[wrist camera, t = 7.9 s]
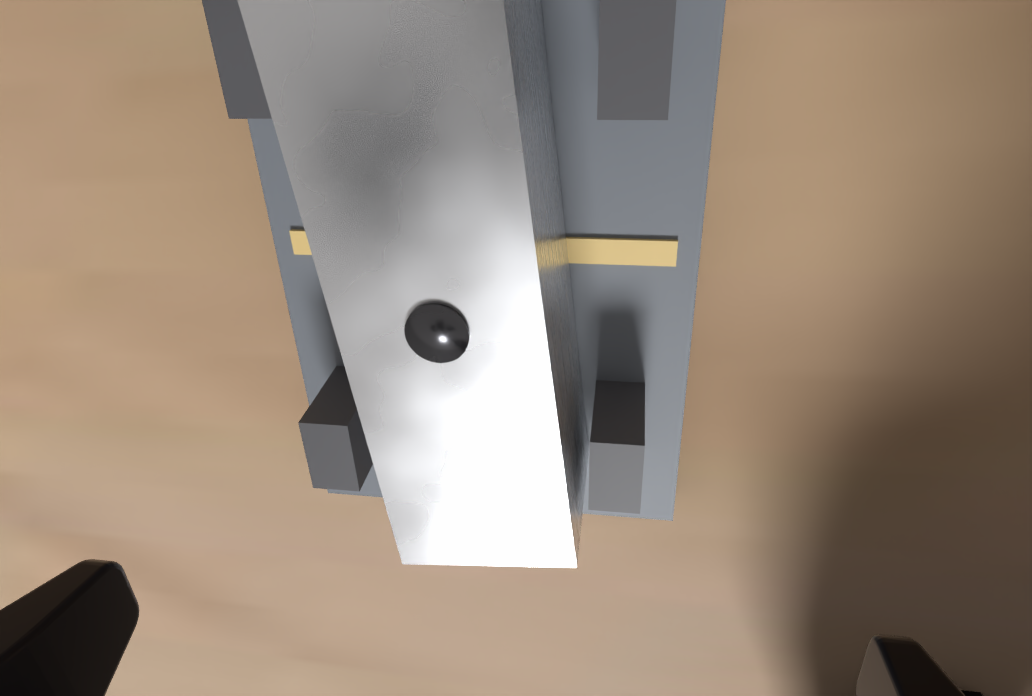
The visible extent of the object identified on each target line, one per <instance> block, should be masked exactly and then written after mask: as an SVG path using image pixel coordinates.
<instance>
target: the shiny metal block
mask: <svg viewBox="0 0 1032 696" xmlns="http://www.w3.org/2000/svg"><path fill="white" fill-rule="evenodd" d="M238 4H239V7H240V11H241V14H242V18H243V21H244V24H245V28H246V31H247V35H248V38H249V42H250V45H251V48H252V52H253V55H254V59H255V62H256V65H257V69H258V72H259V76H260V79H261V83H262V86H263V89H264V93H265V96H266V100H267V103H268V106H269V110H270V113H271V117H272V120H273V124H274V127H275V130H276V134H277V137H278V141H279V144H280V147H281V151H282V154H283V158H284V161H285V165H286V168H287V171H288V175H289V178H290V182H291V185H292V188H293V192H294V195H295V199H296V202H297V206H298V209H299V212H300V216H301V219H302V223H303V226H304V229H305V233H306V236H307V240H308V243H309V247H310V250H311V253H312V257H313V260H314V264H315V267H316V270H317V274H318V277H319V281H320V284H321V288H322V291H323V294H324V298H325V301H326V305H327V308H328V311H329V315H330V318H331V322H332V325H333V329H334V332H335V335H336V339H337V342H338V346H339V349H340V352H341V356H342V359H343V363H344V366H345V370H346V373H347V376H348V380H349V383H350V387H351V390H352V393H353V397H354V400H355V404H356V407H357V411H358V414H359V417H360V421H361V424H362V428H363V431H364V434H365V438H366V441H367V445H368V448H369V452H370V455H371V458H372V462H373V465H374V469H375V472H376V475H377V479H378V482H379V486H380V489H381V493H382V496H383V499H384V503H385V506H386V510H387V513H388V516H389V520H390V523H391V527H392V530H393V534H394V537H395V540H396V544H397V547H398V551H399V554H400V557H401V561H402V564H417V565H466V566H516V567H565V568H577V561H578V551H579V542H580V532H581V523H582V513H583V504H584V494H585V485H586V475H587V466H588V456H589V448H588V439H587V429H586V420H585V411H584V401H583V392H582V382H581V373H580V364H579V354H578V345H577V336H576V326H575V317H574V307H573V298H572V289H571V279H570V270H569V260H568V251H567V242H566V232H565V223H564V214H563V204H562V195H561V185H560V176H559V167H558V157H557V148H556V138H555V129H554V120H553V110H552V101H551V92H550V82H549V73H548V63H547V54H546V45H545V35H544V26H543V16H542V7H541V0H238Z"/></svg>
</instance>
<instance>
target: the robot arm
mask: <svg viewBox="0 0 1032 696" xmlns="http://www.w3.org/2000/svg"><path fill="white" fill-rule="evenodd" d="M138 617H139V605H138V602H137V599H136V597H135V595H134V593H133V590H132V588H131V586H130V583H129V581H128V579H127V577H126V574H125V572H124V570H123V568H122V566H121V565H120V564H118V563H117V562H114V561H105V560H95V559H89V560H84V561H82V562H80V563H78V564H76V565H74V566H73V567H71V568H69V569H68V570H66V571H64V572H63V573H61V574H59V575H58V576H56V577H54V578H53V579H51V580H49V581H48V582H46V583H44V584H43V585H41V586H39V587H38V588H36V589H34V590H33V591H31V592H29V593H28V594H26V595H24V596H23V597H21V598H19V599H18V600H16V601H15V602H13V603H11V604H10V605H8V606H6V607H5V608H3V609H1V610H0V696H105V694H106V691H107V689H108V687H109V685H110V683H111V680H112V678H113V676H114V674H115V671H116V669H117V667H118V665H119V663H120V660H121V658H122V656H123V654H124V651H125V649H126V647H127V645H128V643H129V640H130V638H131V636H132V634H133V631H134V629H135V627H136V624H137V621H138ZM856 696H984V695H983V694H982V693H981V692H972V691H962V690H960V689H959V688H958V687H957V686H956V684H955V683H954V682H953V681H952V680H951V679H950V678H949V677H948V675H947V674H946V673H945V672H944V671H943V670H942V669H941V668H940V666H939V665H938V664H937V663H936V662H935V661H934V660H933V659H932V657H931V656H930V655H929V654H928V653H927V652H926V651H925V650H924V648H923V647H922V646H921V645H920V644H919V643H918V642H916V641H915V640H913V639H911V638H908V637H900V636H889V635H875V636H873V637H872V638H871V639H870V641H869V644H868V647H867V650H866V654H865V657H864V660H863V664H862V667H861V670H860V674H859V677H858V681H857V687H856Z"/></svg>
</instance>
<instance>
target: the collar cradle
mask: <svg viewBox="0 0 1032 696" xmlns="http://www.w3.org/2000/svg"><path fill="white" fill-rule="evenodd" d="M202 3H203V7H204V11H205V16H206V20H207V25H208V29H209V33H210V38H211V42H212V46H213V51H214V55H215V60H216V64H217V68H218V73H219V77H220V81H221V86H222V90H223V95H224V99H225V103H226V108H227V112H228V116H229V119H248V124H249V128H250V133H251V138H252V142H253V147H254V151H255V156H256V161H257V165H258V170H259V175H260V179H261V184H262V189H263V193H264V198H265V202H266V207H267V212H268V216H269V221H270V226H271V230H272V235H273V239H274V244H275V249H276V253H277V258H278V263H279V267H280V272H281V277H282V281H283V286H284V290H285V295H286V300H287V304H288V309H289V314H290V318H291V323H292V328H293V332H294V337H295V341H296V346H297V351H298V355H299V360H300V365H301V369H302V374H303V379H304V383H305V388H306V392H307V397H308V402H309V408H308V409H307V411H306V412H305V414H304V415H303V417H302V418H301V420H300V421H299V427H300V432H301V436H302V441H303V445H304V449H305V454H306V458H307V462H308V467H309V471H310V476H311V480H312V484H313V488H322V489H327V490H328V493H337V494H349V495H362V496H374V497H383V496H382V493H381V489H380V486H379V482H378V479H377V475H376V472H375V469H374V465H373V462H372V458H371V455H370V452H369V448H368V445H367V441H366V438H365V434H364V431H363V428H362V424H361V421H360V417H359V414H358V411H357V407H356V404H355V400H354V397H353V393H352V390H351V387H350V383H349V380H348V376H347V373H346V370H345V366H344V363H343V359H342V356H341V352H340V349H339V346H338V342H337V339H336V335H335V332H334V329H333V325H332V322H331V318H330V315H329V311H328V308H327V305H326V301H325V298H324V294H323V291H322V288H321V284H320V281H319V277H318V274H317V270H316V267H315V264H314V260H313V257H312V253H311V250H310V247H309V243H308V240H307V236H306V233H305V229H304V226H303V223H302V219H301V216H300V212H299V209H298V206H297V202H296V199H295V195H294V192H293V188H292V185H291V182H290V178H289V175H288V171H287V168H286V165H285V161H284V158H283V154H282V151H281V147H280V144H279V141H278V137H277V134H276V130H275V127H274V124H273V120H272V117H271V113H270V110H269V106H268V103H267V100H266V96H265V93H264V89H263V86H262V83H261V79H260V76H259V72H258V69H257V65H256V62H255V59H254V55H253V52H252V48H251V45H250V42H249V38H248V35H247V31H246V28H245V24H244V21H243V18H242V14H241V11H240V7H239V4H238V0H202ZM725 3H726V0H541V7H542V16H543V26H544V35H545V45H546V54H547V63H548V73H549V82H550V92H551V101H552V110H553V120H554V129H555V138H556V148H557V157H558V167H559V176H560V185H561V195H562V204H563V214H564V223H565V232H566V242H567V251H568V260H569V270H570V279H571V289H572V298H573V307H574V317H575V326H576V336H577V345H578V354H579V364H580V373H581V382H582V392H583V401H584V411H585V420H586V429H587V439H588V448H589V456H588V466H587V475H586V485H585V494H584V504H583V513H584V514H596V515H608V516H621V517H633V518H645V519H658V520H670V521H673V513H674V503H675V493H676V483H677V473H678V464H679V454H680V444H681V434H682V424H683V415H684V405H685V395H686V385H687V375H688V366H689V356H690V346H691V336H692V326H693V316H694V307H695V297H696V287H697V277H698V267H699V258H700V248H701V238H702V228H703V218H704V209H705V199H706V189H707V179H708V169H709V160H710V150H711V140H712V130H713V120H714V110H715V101H716V91H717V81H718V71H719V61H720V52H721V42H722V32H723V22H724V12H725Z"/></svg>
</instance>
